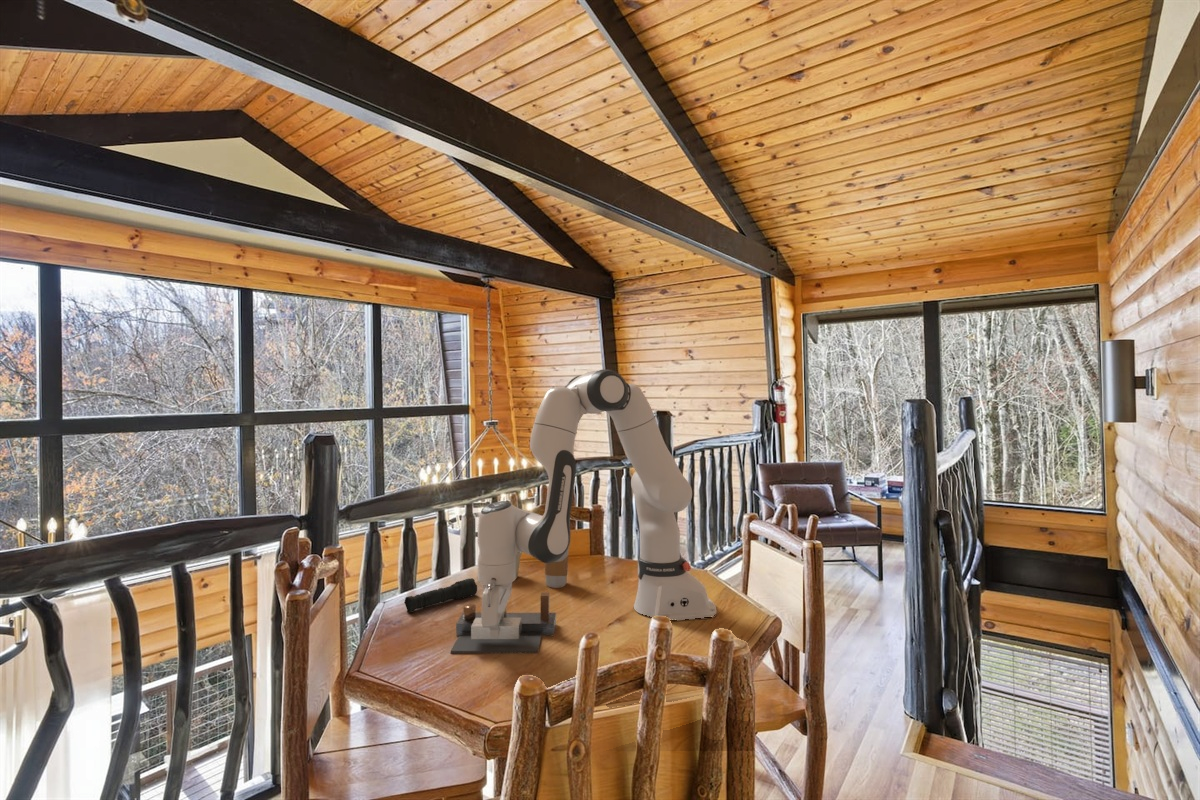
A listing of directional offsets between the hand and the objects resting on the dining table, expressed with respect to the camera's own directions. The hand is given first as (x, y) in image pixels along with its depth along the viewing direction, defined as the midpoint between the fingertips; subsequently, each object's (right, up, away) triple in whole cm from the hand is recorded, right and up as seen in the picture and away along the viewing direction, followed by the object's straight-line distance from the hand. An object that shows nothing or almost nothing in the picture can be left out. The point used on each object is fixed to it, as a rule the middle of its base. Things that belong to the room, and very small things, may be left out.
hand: (497, 630), depth 136 cm
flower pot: (-6, -3, +50) cm, 51 cm away
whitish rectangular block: (0, -1, 0) cm, 1 cm away
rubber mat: (0, -4, 0) cm, 4 cm away
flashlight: (-21, -4, +28) cm, 35 cm away
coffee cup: (+11, -3, +44) cm, 45 cm away
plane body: (+1, -4, +9) cm, 10 cm away
